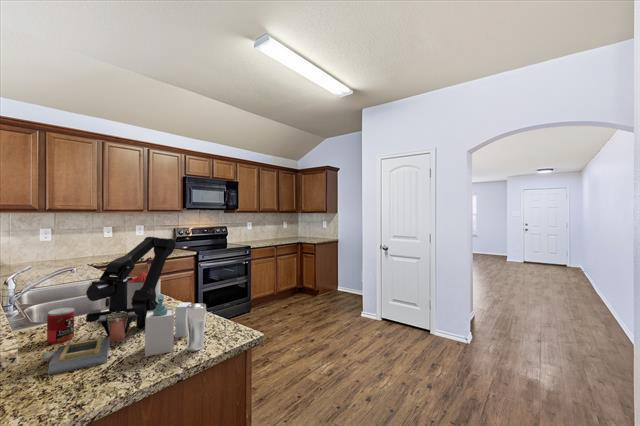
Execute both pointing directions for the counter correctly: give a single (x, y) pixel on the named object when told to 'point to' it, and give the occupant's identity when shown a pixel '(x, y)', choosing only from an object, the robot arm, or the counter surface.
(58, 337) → the canned food
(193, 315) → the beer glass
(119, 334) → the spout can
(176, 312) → the skincare box
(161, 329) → the soap bottle
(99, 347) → the grey and gold frame
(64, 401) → the counter surface
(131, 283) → the citrus juicer
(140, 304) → the robot arm
